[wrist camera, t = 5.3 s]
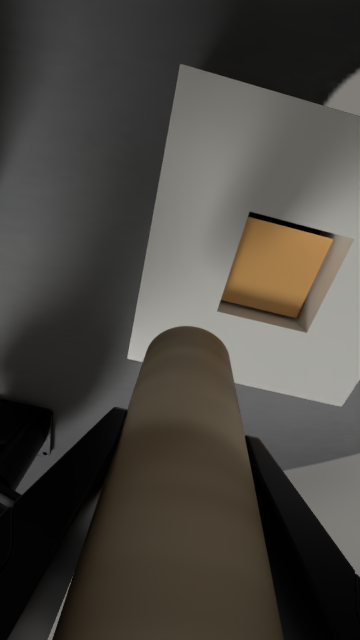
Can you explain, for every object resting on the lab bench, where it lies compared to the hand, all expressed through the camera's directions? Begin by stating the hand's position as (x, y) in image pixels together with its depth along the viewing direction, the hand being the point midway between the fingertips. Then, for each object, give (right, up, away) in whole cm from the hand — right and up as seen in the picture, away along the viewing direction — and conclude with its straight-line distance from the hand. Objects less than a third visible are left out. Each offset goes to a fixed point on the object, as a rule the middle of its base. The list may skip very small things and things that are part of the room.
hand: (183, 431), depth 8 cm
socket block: (+6, +8, +11) cm, 15 cm away
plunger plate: (+6, +7, +9) cm, 13 cm away
